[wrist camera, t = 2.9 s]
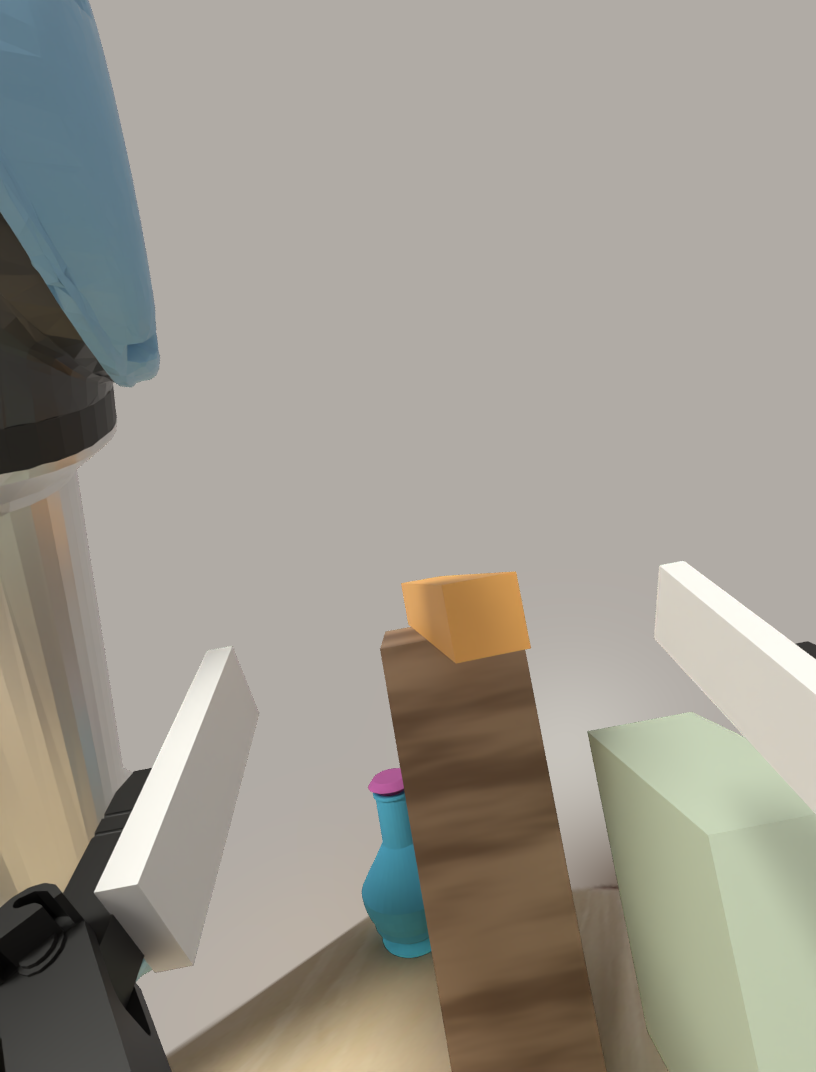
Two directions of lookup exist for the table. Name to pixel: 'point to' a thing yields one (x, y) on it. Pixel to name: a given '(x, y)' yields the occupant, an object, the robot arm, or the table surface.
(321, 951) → the table surface
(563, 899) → the post
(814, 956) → the pale green rectangular block
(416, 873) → the perfume bottle
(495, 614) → the bar
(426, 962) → the table surface
